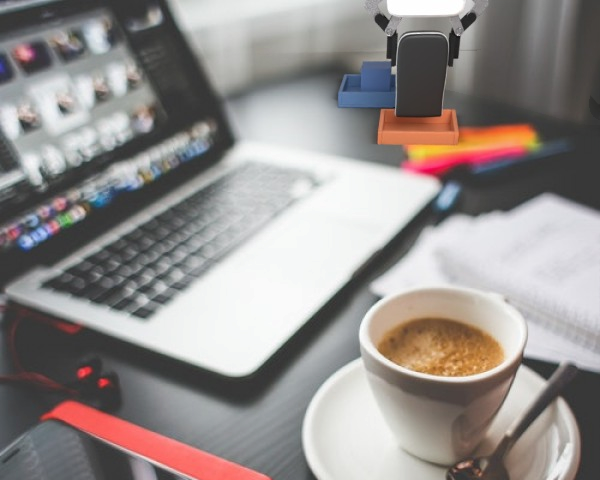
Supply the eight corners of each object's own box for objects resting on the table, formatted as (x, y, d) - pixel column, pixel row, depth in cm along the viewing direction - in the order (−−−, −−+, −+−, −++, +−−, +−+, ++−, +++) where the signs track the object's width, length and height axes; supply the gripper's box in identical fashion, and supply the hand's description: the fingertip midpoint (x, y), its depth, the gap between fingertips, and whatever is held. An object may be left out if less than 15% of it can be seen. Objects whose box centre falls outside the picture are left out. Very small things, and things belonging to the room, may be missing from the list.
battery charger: (441, 110, 92) (448, 27, 86) (443, 118, 89) (451, 33, 83) (393, 110, 93) (397, 28, 87) (393, 119, 90) (397, 34, 83)
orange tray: (453, 125, 97) (455, 109, 95) (457, 149, 88) (459, 132, 87) (380, 124, 98) (381, 108, 97) (377, 148, 90) (377, 131, 89)
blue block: (390, 90, 111) (391, 61, 108) (389, 99, 107) (390, 68, 104) (362, 90, 112) (362, 61, 109) (360, 98, 108) (360, 68, 105)
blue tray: (411, 88, 113) (412, 74, 112) (411, 107, 104) (412, 92, 103) (344, 88, 115) (344, 74, 114) (338, 107, 106) (338, 92, 105)
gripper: (359, -80, 76) (357, 71, 86) (508, -86, 73) (488, 71, 83) (363, -85, 82) (361, 57, 92) (501, -90, 79) (483, 57, 89)
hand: (421, 63), depth 87 cm, fingers closed on battery charger, 7 cm apart
